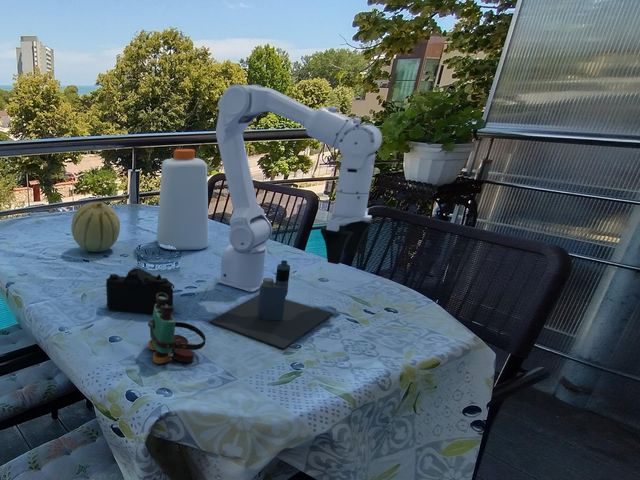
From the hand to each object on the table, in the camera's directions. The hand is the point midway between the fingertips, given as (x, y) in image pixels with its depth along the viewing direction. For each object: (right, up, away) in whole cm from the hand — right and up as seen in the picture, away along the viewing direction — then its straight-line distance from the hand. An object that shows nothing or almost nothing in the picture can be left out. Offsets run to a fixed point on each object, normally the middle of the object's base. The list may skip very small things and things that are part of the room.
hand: (341, 258), depth 95 cm
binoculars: (-36, -18, -12) cm, 42 cm away
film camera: (-41, -10, +7) cm, 42 cm away
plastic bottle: (-25, +8, +49) cm, 56 cm away
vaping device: (-15, -12, -1) cm, 20 cm away
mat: (-15, -12, -1) cm, 19 cm away
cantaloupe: (-52, +6, +46) cm, 69 cm away
